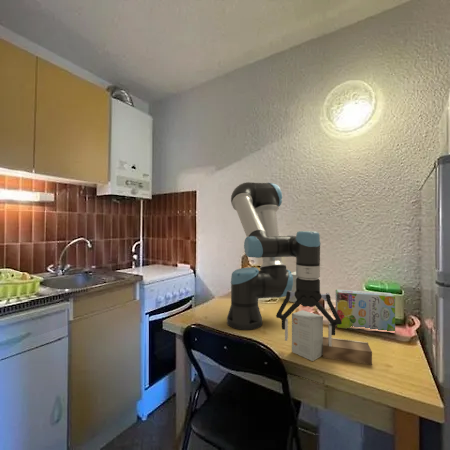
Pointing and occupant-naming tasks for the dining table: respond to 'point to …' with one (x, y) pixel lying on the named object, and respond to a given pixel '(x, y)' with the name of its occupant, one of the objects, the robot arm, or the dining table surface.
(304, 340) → the small box
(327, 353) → the walnut step
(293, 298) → the skincare box
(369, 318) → the snack box
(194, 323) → the dining table surface
